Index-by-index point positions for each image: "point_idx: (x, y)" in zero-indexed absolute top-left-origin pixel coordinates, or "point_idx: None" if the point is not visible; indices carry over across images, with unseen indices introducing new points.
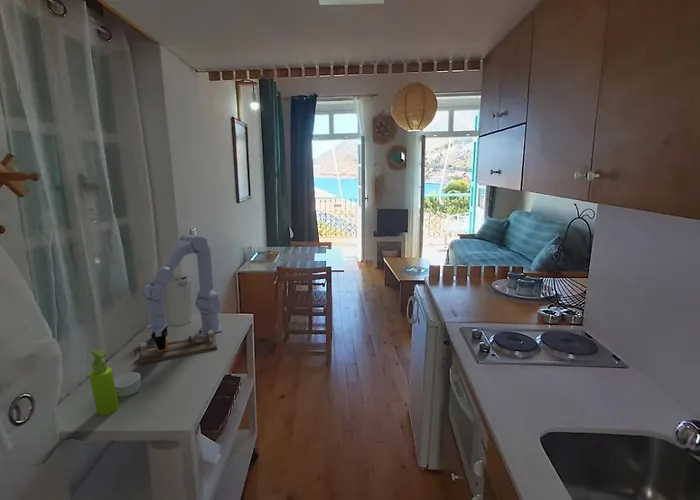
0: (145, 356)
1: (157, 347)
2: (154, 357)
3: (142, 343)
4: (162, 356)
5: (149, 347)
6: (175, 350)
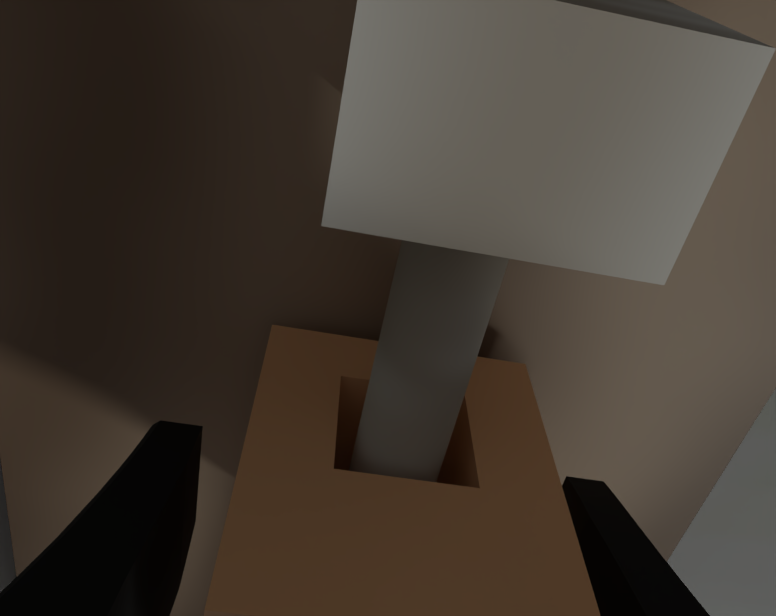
0: (250, 23)
1: (248, 435)
2: (57, 228)
3: (665, 113)
4: (32, 376)
5: (406, 256)
6: (211, 572)
